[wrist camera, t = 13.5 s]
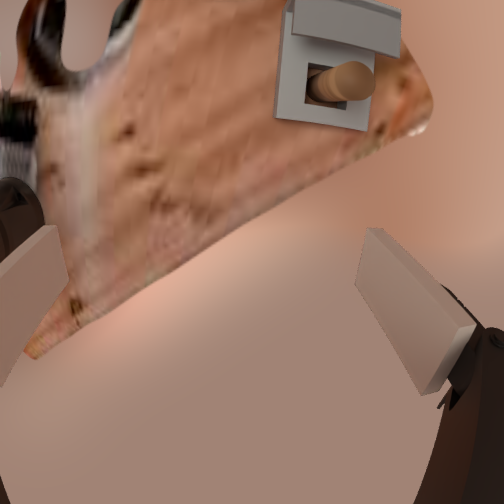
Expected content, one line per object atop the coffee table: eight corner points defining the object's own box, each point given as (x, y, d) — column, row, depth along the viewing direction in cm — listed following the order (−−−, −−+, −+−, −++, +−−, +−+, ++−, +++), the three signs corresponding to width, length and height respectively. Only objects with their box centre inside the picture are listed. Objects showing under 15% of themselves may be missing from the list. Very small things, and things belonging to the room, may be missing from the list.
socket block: (272, 117, 38) (284, 119, 29) (282, 10, 32) (296, -18, 22) (356, 129, 39) (391, 137, 30) (365, 27, 32) (401, 9, 23)
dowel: (303, 99, 38) (334, 96, 25) (306, 72, 36) (338, 57, 23) (332, 104, 38) (373, 104, 25) (334, 77, 36) (377, 66, 24)
